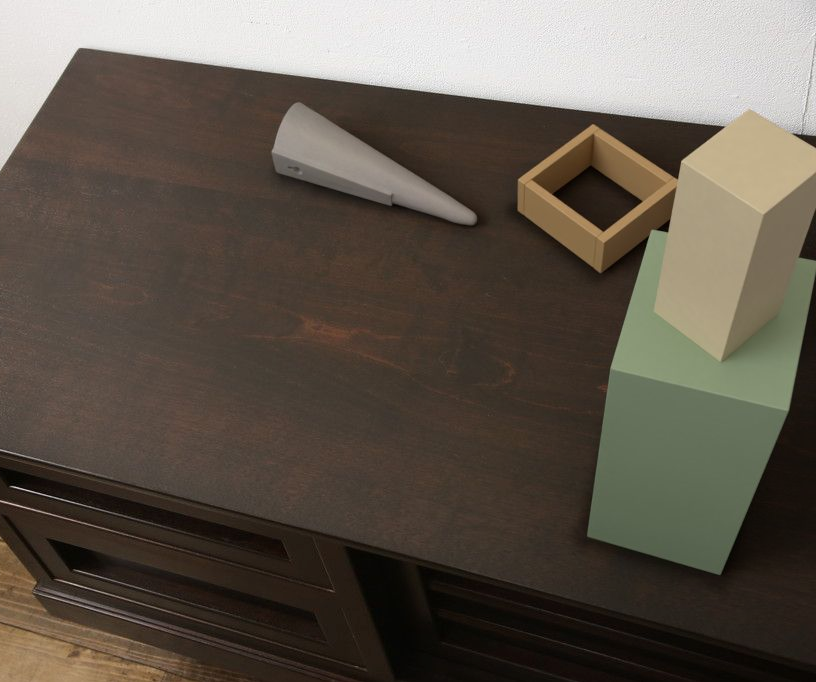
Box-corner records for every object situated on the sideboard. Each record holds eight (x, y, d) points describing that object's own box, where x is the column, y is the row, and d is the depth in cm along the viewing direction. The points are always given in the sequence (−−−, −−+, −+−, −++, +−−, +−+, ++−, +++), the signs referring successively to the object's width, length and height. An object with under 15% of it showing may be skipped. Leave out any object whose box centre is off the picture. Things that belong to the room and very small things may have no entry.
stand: (747, 450, 77) (818, 260, 60) (720, 575, 73) (789, 411, 55) (620, 418, 80) (651, 228, 63) (586, 536, 76) (610, 368, 58)
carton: (779, 313, 58) (833, 158, 48) (720, 362, 57) (764, 214, 47) (710, 265, 60) (749, 108, 51) (653, 312, 59) (681, 160, 50)
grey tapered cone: (501, 150, 92) (299, 88, 97) (474, 210, 90) (268, 144, 95) (498, 187, 97) (306, 127, 102) (472, 245, 95) (277, 180, 100)
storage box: (675, 214, 90) (682, 182, 87) (600, 273, 88) (604, 242, 85) (590, 156, 95) (593, 123, 92) (517, 210, 93) (517, 179, 90)
